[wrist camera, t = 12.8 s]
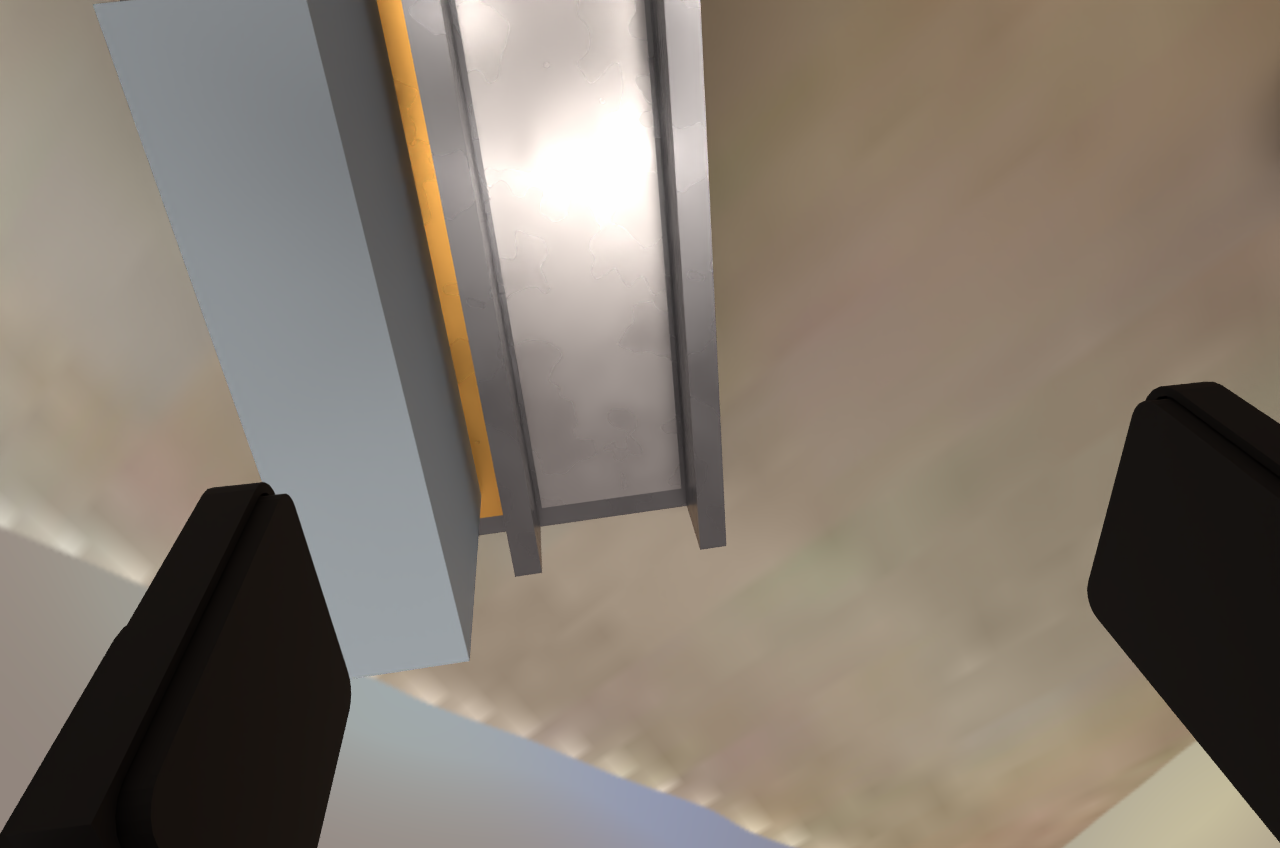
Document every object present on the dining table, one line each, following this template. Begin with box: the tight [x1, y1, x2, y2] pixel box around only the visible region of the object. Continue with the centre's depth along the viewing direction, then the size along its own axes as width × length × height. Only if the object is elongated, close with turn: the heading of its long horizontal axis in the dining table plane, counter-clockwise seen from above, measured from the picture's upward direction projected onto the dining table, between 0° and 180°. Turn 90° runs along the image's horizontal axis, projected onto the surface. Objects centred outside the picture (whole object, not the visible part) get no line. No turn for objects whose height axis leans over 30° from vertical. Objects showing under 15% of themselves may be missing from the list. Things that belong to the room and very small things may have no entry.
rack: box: [120, 0, 726, 577], centre depth 29 cm, size 22×16×4 cm
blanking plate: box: [93, 0, 481, 679], centre depth 25 cm, size 18×4×9 cm, turn 5°
